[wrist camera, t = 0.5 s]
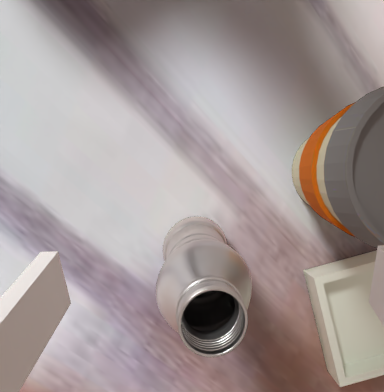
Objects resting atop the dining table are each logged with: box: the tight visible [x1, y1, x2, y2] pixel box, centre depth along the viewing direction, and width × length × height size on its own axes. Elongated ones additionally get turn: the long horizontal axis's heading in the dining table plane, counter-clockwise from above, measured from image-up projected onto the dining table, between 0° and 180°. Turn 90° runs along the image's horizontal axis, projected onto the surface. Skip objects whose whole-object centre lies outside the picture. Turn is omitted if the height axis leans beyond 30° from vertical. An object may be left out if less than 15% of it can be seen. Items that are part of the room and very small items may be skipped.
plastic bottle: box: [156, 216, 252, 357], centre depth 27 cm, size 6×7×20 cm
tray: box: [303, 250, 384, 387], centre depth 37 cm, size 12×14×3 cm
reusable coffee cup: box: [292, 87, 384, 248], centre depth 30 cm, size 13×13×15 cm
